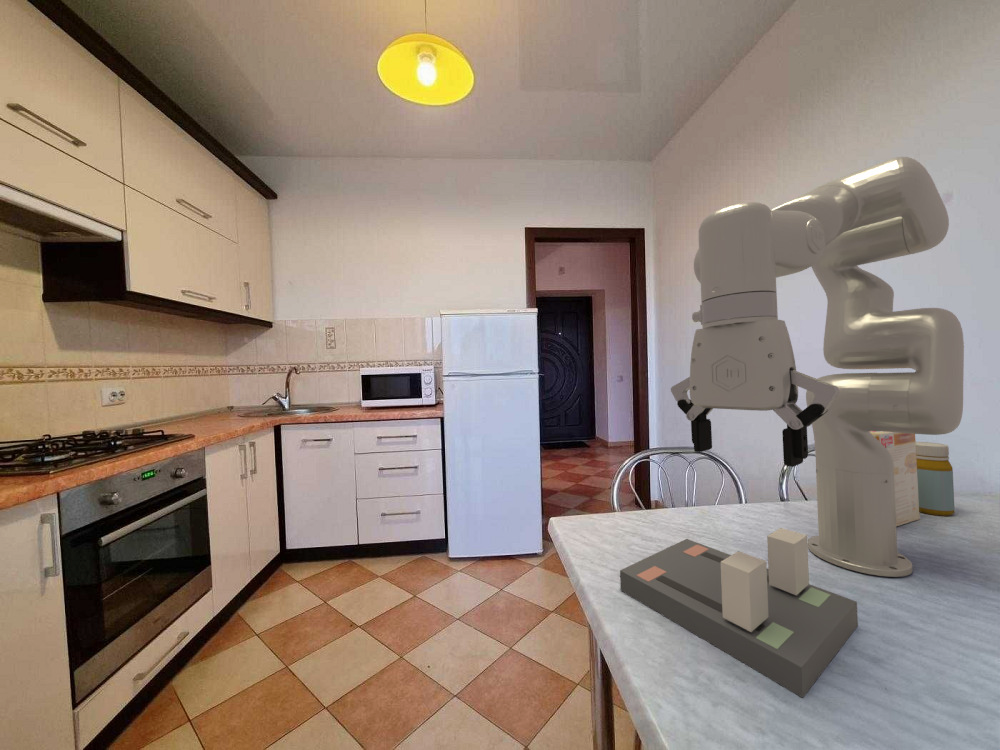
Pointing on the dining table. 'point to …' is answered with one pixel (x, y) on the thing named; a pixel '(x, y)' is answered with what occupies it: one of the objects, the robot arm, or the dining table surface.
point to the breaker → (788, 560)
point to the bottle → (934, 479)
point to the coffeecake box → (902, 473)
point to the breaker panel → (768, 649)
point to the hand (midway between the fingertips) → (744, 456)
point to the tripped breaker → (744, 590)
